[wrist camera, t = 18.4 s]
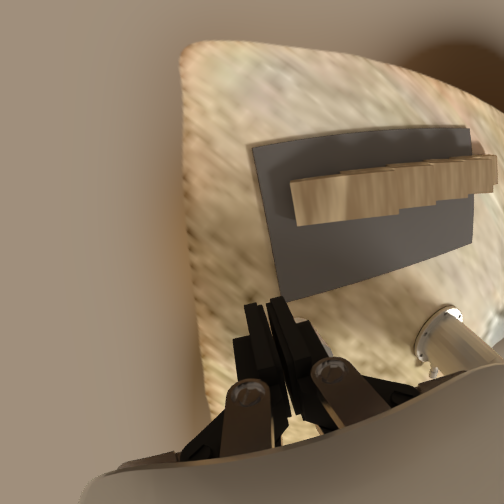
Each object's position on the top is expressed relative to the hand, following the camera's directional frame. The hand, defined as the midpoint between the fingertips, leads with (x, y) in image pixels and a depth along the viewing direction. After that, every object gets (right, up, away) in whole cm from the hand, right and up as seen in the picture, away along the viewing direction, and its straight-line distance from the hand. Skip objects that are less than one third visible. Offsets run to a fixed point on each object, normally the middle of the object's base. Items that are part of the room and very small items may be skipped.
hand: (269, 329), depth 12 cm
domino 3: (+17, +12, +21) cm, 29 cm away
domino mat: (+19, +10, +24) cm, 32 cm away
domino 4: (+24, +13, +21) cm, 35 cm away
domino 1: (+4, +9, +20) cm, 23 cm away
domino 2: (+10, +10, +21) cm, 25 cm away
